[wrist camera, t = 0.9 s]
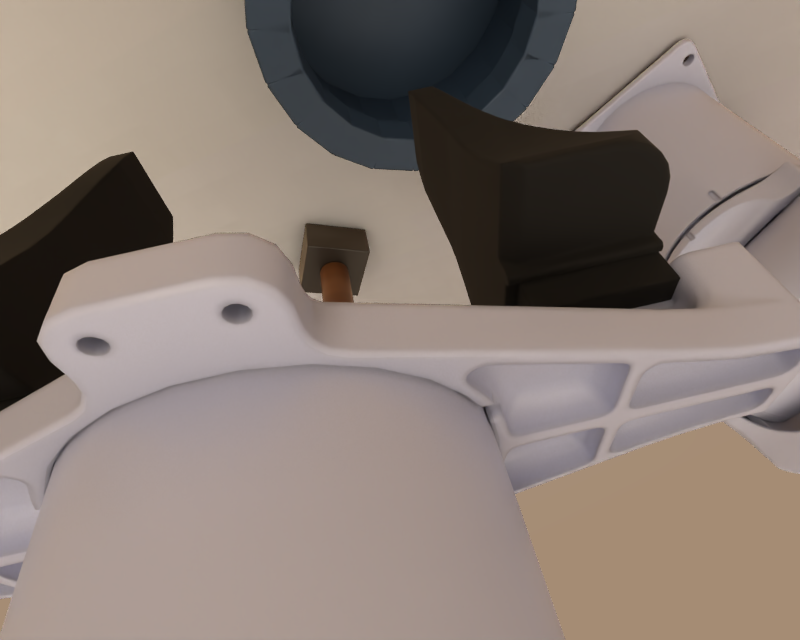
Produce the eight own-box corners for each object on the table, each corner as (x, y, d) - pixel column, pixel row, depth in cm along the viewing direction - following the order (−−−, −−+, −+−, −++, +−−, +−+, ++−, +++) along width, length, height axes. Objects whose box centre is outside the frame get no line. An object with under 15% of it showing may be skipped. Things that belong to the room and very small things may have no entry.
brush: (365, 229, 28) (384, 318, 23) (353, 273, 30) (369, 361, 25) (305, 223, 26) (313, 314, 22) (298, 269, 29) (304, 360, 24)
